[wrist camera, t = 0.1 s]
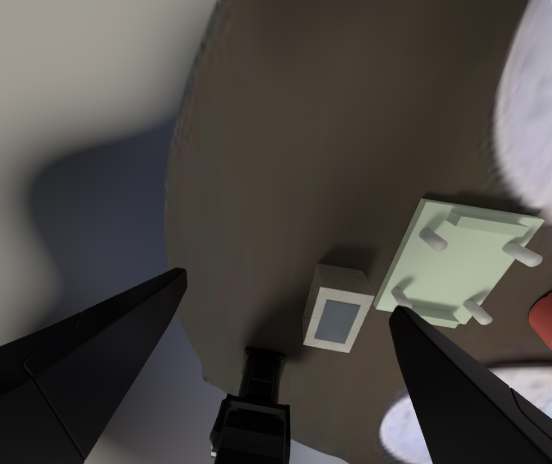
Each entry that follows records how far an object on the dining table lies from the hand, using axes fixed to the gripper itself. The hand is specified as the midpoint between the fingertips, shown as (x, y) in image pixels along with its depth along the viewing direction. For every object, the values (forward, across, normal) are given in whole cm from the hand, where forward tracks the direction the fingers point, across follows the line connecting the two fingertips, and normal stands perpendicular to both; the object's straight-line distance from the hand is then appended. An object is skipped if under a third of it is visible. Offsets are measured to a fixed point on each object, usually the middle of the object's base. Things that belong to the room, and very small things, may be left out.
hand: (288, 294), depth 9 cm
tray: (+15, -18, +5) cm, 24 cm away
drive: (+15, -7, +12) cm, 20 cm away
